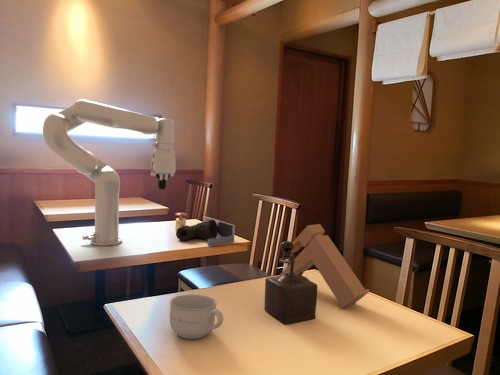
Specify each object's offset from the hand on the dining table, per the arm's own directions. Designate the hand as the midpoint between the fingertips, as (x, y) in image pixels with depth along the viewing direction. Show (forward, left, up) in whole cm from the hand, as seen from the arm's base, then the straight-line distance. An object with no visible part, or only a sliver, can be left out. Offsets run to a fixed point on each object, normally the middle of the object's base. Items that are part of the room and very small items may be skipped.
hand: (161, 188), depth 180 cm
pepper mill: (-7, -86, -24) cm, 90 cm away
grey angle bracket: (+20, -6, -23) cm, 32 cm away
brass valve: (+18, +14, -23) cm, 33 cm away
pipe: (+16, -5, -24) cm, 29 cm away
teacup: (-35, -85, -24) cm, 95 cm away
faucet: (+11, -83, -24) cm, 87 cm away
